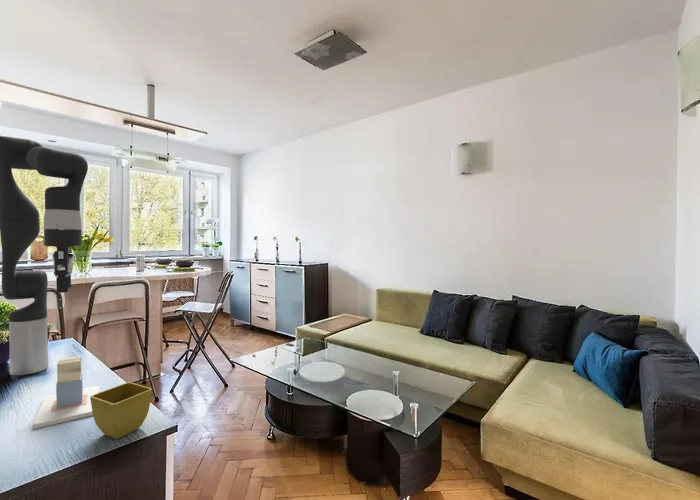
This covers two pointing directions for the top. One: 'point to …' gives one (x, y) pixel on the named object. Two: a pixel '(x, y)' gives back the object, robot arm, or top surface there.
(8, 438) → the top surface
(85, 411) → the board
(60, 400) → the slate block
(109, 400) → the flower pot
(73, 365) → the maple block
